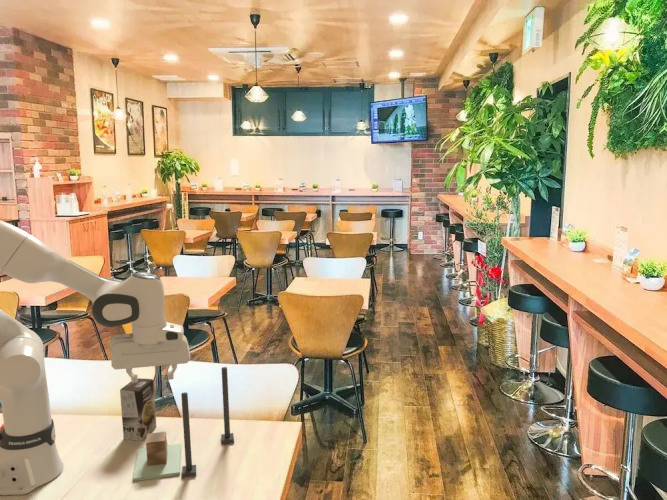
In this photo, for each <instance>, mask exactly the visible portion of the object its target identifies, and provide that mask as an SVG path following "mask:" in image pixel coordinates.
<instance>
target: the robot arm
mask: <svg viewBox="0 0 667 500" xmlns="http://www.w3.org/2000/svg"><path fill="white" fill-rule="evenodd" d="M0 272H1V274H4V275H5V276H8V277H10V278H12V279H15V280H17V281H20V282H23V283H26V284H38V283H43V282H44V283H46V282H53V283H57V284H61V285H63V286H65V287H67V288H69V289H70V290H71V289H72V290H73V291H75V292H77V293H79V294H81V295H83V296H85V297H87V298H88V299H89V300H90V302H92V305H91V316H92V317H93V319H94V321H96V323H97V324H99V325H100V326H103V327H106V328H114V327H115V328H116V327H119V326H124V325H127V324H131V333H125V334H124V333H122V334H115V335H114V336H112V337H110V339H109V340H108V345H109V350H111V362H110V363H111V365H110V366H111V367H112V368H113V369H114V370H125V372H126V374H127V375H128V376H129V377H130V379H131V381H130V382H132V383H137V382H138V377H139V376H138V374H135V373H134V372H133V369H136V368H137V369H138V368H139V369H140V368H149V367H158V366H159V367H160V366H170V365H171V370H170V371H167V380H174V379H175V378H174V377H175V375H174V373H175V372H176V370H177V368H178V365H182V364H188V363H189V362H190V360H191V353H190V351H191V350H190V346H189V340H188V339H187V337H186V336H185V335H184V333H185V330H184V326H183V325H181V324H179V323H178V324H177V323H173V322H168V321H167V318H166V315H165V314H166V313H165V307H166V299H165V298H166V297H165V288H164V285H163V281H162V279H161V278H160V277H159V276H158V275H156V274H153V273H150V272H144V271H143V272H134V273H132V274H131V275H130V276H129V277H128V278H126V279H125V280H121V279H117V278H110V277H105V276H101V275H99V274H97V273H94V272H93V271H90V270H89V269H87V268H85V267H83V266H81V265H80V264H77V263H75V262H74V261H72V260H70V259H68V258H66V257H64V256H63V255H62V254H60V253H59V252H57V251H56V250H55V249H53V248H52V247H51V246H49V245H48V244H46V243H45V242H43V241H42V240H40V238H37V237H36V236H34V235H32V234H31V233H29V232H27V231H25V230H24V229H21V228H20V227H17V226H15V225H14V224H11V223H9V222H6V221H4V220H1V219H0ZM44 350H45V348H44V342H43V340H42V339H41V337H40V336H39V335H38V334H37V333H36V332H35V331H34V330H32V329H30V328H29V327H27V326H26V325H24V324H23V323H21V322H20V321H19V320H17V319H16V318H14V317H12V316H11V315H9V314H8V313H6V312H5V311H4V310H3V309H1V308H0V403H1V404H0V405H1V411H2V421H3V423H2V424H1V426H0V496H6V495H7V496H9V495H10V496H11V495H13V496H15V495H26V494H30V493H31V492H32V491H34V490H35V489H37V488H39V487H41V486H42V485H45V484H47V483H49V482H51V481H52V480H54V479H56V478H57V477H58V476H59V475H60V474H61V473H62V472H63V469H64V463H63V461H62V459H61V457H60V455H59V452H58V451H59V450H58V448H57V445H56V427H55V424H54V423H55V422H54V419H53V418H52V413H51V403H50V396H49V394H50V393H49V389H48V381H47V373H46V366H45V364H46V363H45V352H44Z"/></svg>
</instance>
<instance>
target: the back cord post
mask: <svg viewBox="0 0 667 500" xmlns="http://www.w3.org/2000/svg"><path fill="white" fill-rule="evenodd" d="M228 380H229V379H228V367H226V366H223V367H221V386H222V407H223V409H222V410H223V424H224V425H223V426H224V427H223V428H224V430H223V431H224V434H223V433H222V434H221V435H220V437H221V445H227V444H234V443H235V437H234V436H235V435H234V433H233V432H231V425H230V423H231V422H230V406H229V405H230V404H229V402H230V401H229V383H228Z"/></svg>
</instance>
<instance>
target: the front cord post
mask: <svg viewBox="0 0 667 500" xmlns="http://www.w3.org/2000/svg"><path fill="white" fill-rule="evenodd" d="M188 394H189V393H188V392H181V395H180V396H181V408H182V409H181V410H182V424H183V426H182V427H183V441H184V457H185V465H182V467H181V468H182V469H181V475H182V476H181V477H182V479H184V478H191V477H197V464H193V462H192V461H193V460H192V457H193V456H192V446H191V432H190V431H191V430H190V429H191V428H190V414H189V413H190V410H189V396H188Z"/></svg>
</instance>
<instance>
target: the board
mask: <svg viewBox="0 0 667 500" xmlns="http://www.w3.org/2000/svg"><path fill="white" fill-rule="evenodd" d="M167 453H168V455H167V464H160V465H153V466H148V463H147V450H146V447H143V448H141V447H140V448H138V450H137V454H136V459H135V466H134V471H133V477H132V481H133V482H137V481H145V480H152V479H161V478H166V477H174V476H180V474H181V460H182V443H175V444H174V443H172V444H167Z"/></svg>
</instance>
